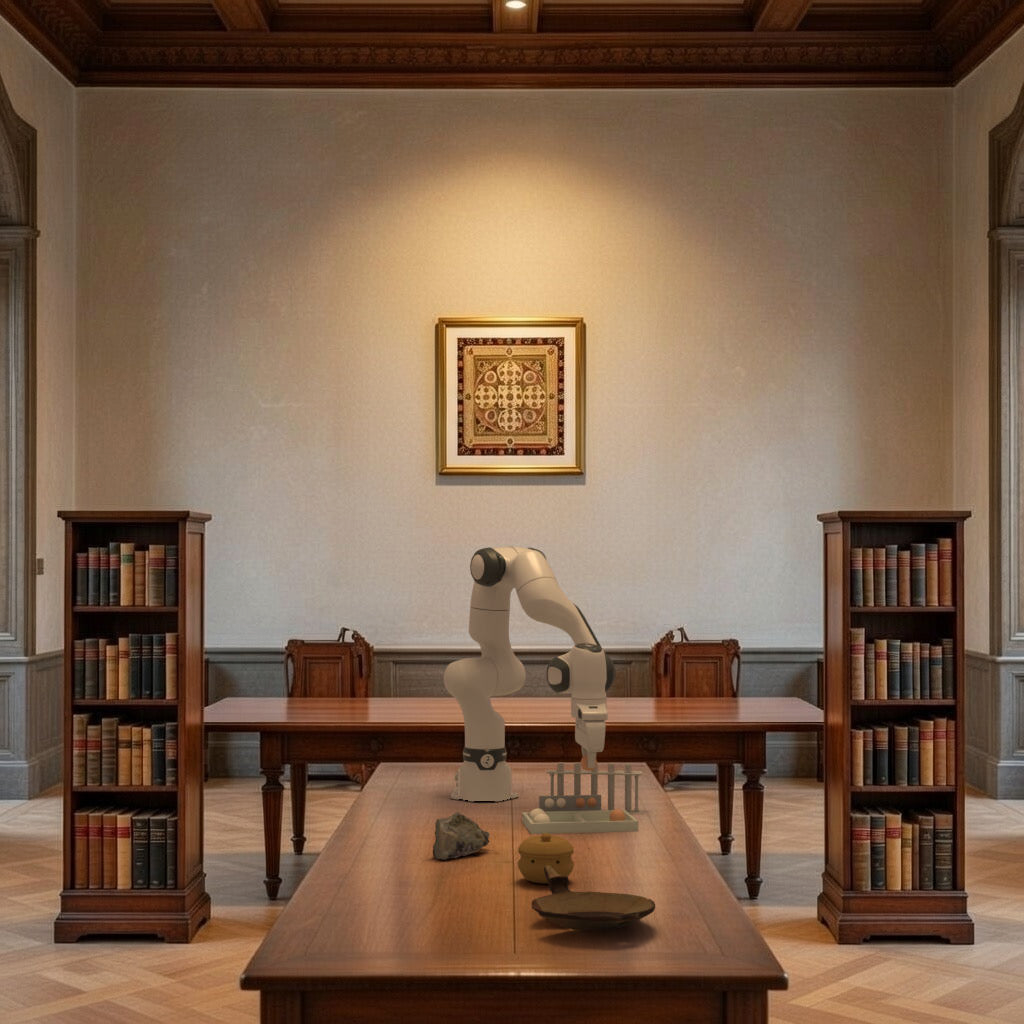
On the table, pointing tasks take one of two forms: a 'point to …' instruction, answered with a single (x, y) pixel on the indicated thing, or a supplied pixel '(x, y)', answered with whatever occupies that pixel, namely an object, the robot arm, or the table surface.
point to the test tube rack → (594, 782)
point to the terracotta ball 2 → (617, 815)
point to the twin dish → (580, 822)
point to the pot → (545, 857)
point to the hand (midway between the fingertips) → (588, 765)
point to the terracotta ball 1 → (584, 764)
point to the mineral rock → (458, 837)
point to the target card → (570, 803)
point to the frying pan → (589, 906)
